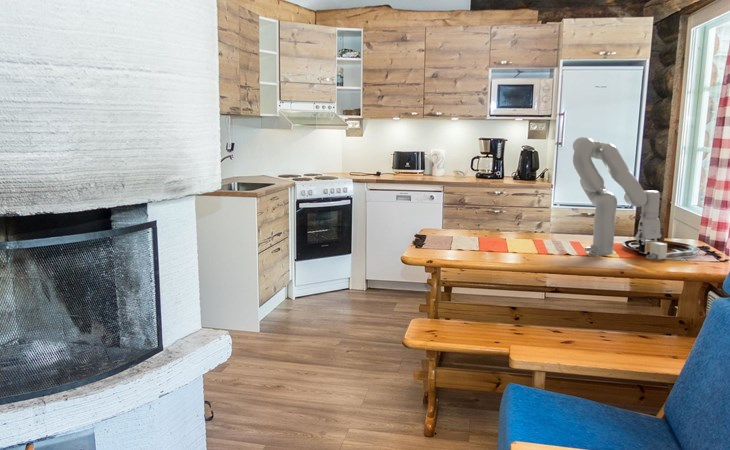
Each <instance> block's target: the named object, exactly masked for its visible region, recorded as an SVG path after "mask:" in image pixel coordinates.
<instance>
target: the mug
mask: <svg viewBox="0 0 730 450" xmlns="http://www.w3.org/2000/svg"><path fill="white" fill-rule="evenodd" d="M665 229H666V228H661V227H660V234H661V235H662V236H661V237H660V239H659V240H658V242H660V243H664V244H665V238H666V237H665V236H666V230H665ZM646 240H651V239H646Z"/></svg>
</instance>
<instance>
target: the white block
mask: <svg viewBox="0 0 730 450" xmlns="http://www.w3.org/2000/svg"><path fill="white" fill-rule="evenodd" d="M667 253H668V243H665V242H664V243H660V242H651V244H650V252H649V255H651V254H657V255H658V257H657V259H662V260H667V259H666V255H667Z"/></svg>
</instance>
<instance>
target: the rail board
mask: <svg viewBox="0 0 730 450" xmlns="http://www.w3.org/2000/svg"><path fill="white" fill-rule="evenodd" d="M657 257H658V255H657V254H651V255H650V254H645V256H642V258H643V259H647V260H651V261H660V260H663V259H657ZM690 257H691V258H692V257H696V255H694V251H693V250H684V251H674V252H667V255H666V259H665V260H671V259H680V258H681V259H682V258H690Z"/></svg>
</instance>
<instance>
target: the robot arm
mask: <svg viewBox="0 0 730 450" xmlns="http://www.w3.org/2000/svg"><path fill="white" fill-rule="evenodd" d="M572 149H573V156H572V164H573V166H574V169H575V171H576V173H577V174H578V176H579V182H580V186H581V188H582V190H583V191H584V193H585V195H586V196H587V198H588V199H589V200H590V202H591V204H592V205H593V206H594V207H595V210H594V215H593V216H594V217H593V235H592V236H593V237H592V244H591V245H590V246H584V248H583V249H584V251H585V252H588V254H590V255H593V256H597V257H605V256H607V255H615V254H617V252H616V251H615V250H614V241H615V227H616V226H615V223H616V211H617V207H618V199H617V197H616V195H615V194H614V193H613V192H611V191H609V190H608V189H607V188H606V186H605V180H604V177H603V176H602V175H601V173H600V172H599V170H598V169H597V167H596V165H595V164H594V162H593V159H597V160H601V161H602V162H603V163H602V164H604V166H605V168H606V169H607V171H608V173H609V175H610V176H611V178H612V179H613V181H615V182H616V183H617V184H618V185H619V187H621V188H622V190H624V193H625V194H624V197H623V200H624V201H625V202H626V203H627V204H628V205H630V206H633V207H635V208H640V207H641V213H640V214H639V216H640V219H639V222H638V227H637V233H636V234H635V236H634V239H635V240H636V242H637V244H638V253H641V252H642V253H641V254H644V252H645V245H644V243H645V240H647V239H651V240H653V241H656V242H658V240H659V239H660V237H661V236H662V235H661V234H660V228H661V220H660V218H659V212H660V211H659V210H660V198H661V197H660V196H661V194H660V193H661V192H660V191H658V190H649V189H648V190H644V188H643V187H642V185H641V184H640V182H639V181H638V179H637V178H636V177H635V175H634V174H633V173H632V171H631V170H630V168H629V167H628V164H627V163H626V162H625V159H624V158H623V156H622V155H621V153H620V151H619V149H618V148H617V146H616V145H614V144H612V143H606V142H603V141H602V142H601V141H597V140H594V139H592V138H590V137H583V136H581V137H578V138H576V139H575V140H574V141H573V143H572ZM642 240H643V241H642Z"/></svg>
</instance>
